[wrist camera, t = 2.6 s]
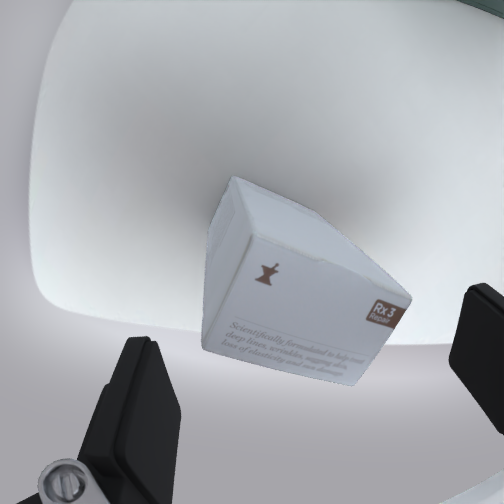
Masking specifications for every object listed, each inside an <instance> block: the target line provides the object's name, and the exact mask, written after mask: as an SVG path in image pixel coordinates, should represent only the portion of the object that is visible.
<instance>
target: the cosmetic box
mask: <svg viewBox="0 0 504 504" xmlns="http://www.w3.org/2000/svg"><path fill="white" fill-rule="evenodd" d="M411 301H412V297H411V295H410V294H409V293H408V292H407V291H406V290H405V289H404V288H403V287H402V286H401V285H400V284H399V283H398V282H397V281H396V280H394V279H393V278H392V277H391V276H390V275H389V274H388V273H387V272H386V271H385V270H383V269H382V268H381V267H380V266H379V265H378V264H377V263H376V262H374V261H373V260H372V259H371V258H370V257H369V256H368V255H366V254H365V253H364V252H363V251H362V250H361V249H359V248H358V247H357V246H356V245H355V244H353V243H352V242H351V241H350V240H349V239H348V238H346V237H345V236H344V235H343V234H342V233H340V232H339V231H338V230H337V229H336V228H334V227H333V226H332V225H331V224H330V223H328V222H327V221H326V220H325V219H324V218H322V217H321V216H320V215H319V214H317V213H316V212H315V211H313V210H311V209H309V208H307V207H305V206H303V205H300V204H298V203H296V202H294V201H292V200H290V199H287V198H285V197H283V196H281V195H278V194H276V193H274V192H272V191H269V190H267V189H265V188H263V187H260V186H258V185H256V184H253V183H251V182H249V181H246V180H244V179H242V178H239V177H237V176H232V177H231V178H230V181H229V183H228V185H227V188H226V190H225V192H224V194H223V196H222V199H221V201H220V203H219V206H218V208H217V210H216V213H215V215H214V217H213V220H212V222H211V225H210V227H209V230H208V241H207V253H206V266H205V281H204V297H203V320H202V335H201V336H202V337H201V343H202V348H203V350H206V351H208V352H212V353H216V354H219V355H222V356H226V357H230V358H233V359H237V360H241V361H244V362H248V363H252V364H256V365H260V366H264V367H267V368H271V369H275V370H279V371H284V372H288V373H293V374H297V375H302V376H305V377H310V378H314V379H319V380H324V381H329V382H333V383H338V384H343V385H348V386H354V385H355V384H356V382H357V381H358V380H359V378H360V377H361V376H362V375H363V373H364V372H365V371H366V370H367V368H368V367H369V365H370V364H371V362H372V361H373V360H374V359H375V357H376V356H377V354H378V353H379V351H380V350H381V348H382V347H383V345H384V344H385V342H386V341H387V339H388V338H389V337H390V335H391V333H392V332H393V330H394V329H395V327H396V325H397V324H398V322H399V321H400V319H401V317H402V316H403V314H404V313H405V311H406V310H407V308H408V307H409V305H410V304H411Z"/></svg>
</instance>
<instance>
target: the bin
mask: <svg viewBox="0 0 504 504" xmlns="http://www.w3.org/2000/svg"><path fill="white" fill-rule="evenodd" d="M457 1H460V2H463V3H466V4H469V5H471V6H474V7H477V8H479V9H482V10H484V11H487V12H489V13H492V14H494V15H496V16H499V17H501V18H503V19H504V0H457Z"/></svg>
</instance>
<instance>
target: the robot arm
mask: <svg viewBox="0 0 504 504" xmlns="http://www.w3.org/2000/svg"><path fill="white" fill-rule="evenodd" d="M449 365H450V367H451V369H452V370H453V371H454V372H455V374H456V375H457V376H458V378H460V380H461V381H462V383H463V384H464V385H465V387H466V388H467V389H468V391H469V392H470V393H471V394H472V396H473V397H474V399H475V400H476V401H477V403H478V404H479V405H480V407H481V408H482V409H483V411H484V412H485V414H486V415H487V416H488V418H489V419H490V421H491V422H492V423H493V425H494V426H495V428H496V429H497V431H498V432H499V433H501V434H503V435H504V296H502V295H501V294H500V293H498V292H497V291H496V290H495V289H493V288H492V287H491V286H489V285H488V284H486V283H480V284H476V285H472V286H470V287H469V288H468V290H467V292H466V293H465V295H464V299H463V304H462V308H461V313H460V317H459V321H458V325H457V329H456V333H455V337H454V341H453V344H452V348H451V352H450V355H449ZM180 421H181V410H180V406H179V403H178V400H177V398H176V395H175V393H174V390H173V387H172V384H171V382H170V379H169V376H168V373H167V370H166V367H165V364H164V361H163V358H162V355H161V352H160V349H159V346H158V343H157V342H156V341H151V339H150V338H149V337H147V336H144V337H129V338H128V339H127V341H126V343H125V346H124V348H123V350H122V353H121V355H120V358H119V360H118V363H117V365H116V367H115V370H114V372H113V375H112V378H111V380H110V383H109V384H106V385H105V386H104V388H103V390H102V392H101V395H100V398H99V400H98V403H97V405H96V408H95V411H94V413H93V416H92V419H91V421H90V424H89V427H88V429H87V432H86V435H85V438H84V441H83V443H82V446H81V449H80V452H79V455H78V458H77V460H74V459H60V460H57V461H54V462H53V463H51V464H50V465H48V466H47V467H46V468H45V469H44V470H43V471H42V473H41V475H40V477H39V480H38V491H39V492H38V493H36V494H35V495H32V496H30V497H29V498H27V499H25V500H23V501H21V502H19V503H17V504H172V496H173V485H174V475H175V465H176V456H177V447H178V439H179V430H180ZM439 504H504V469H503V470H502V471H500V472H498V473H497V474H495V475H493V476H492V477H490V478H488V479H487V480H485V481H483V482H481V483H479V484H478V485H476V486H474V487H472V488H470V489H468V490H466V491H464V492H462V493H460V494H458V495H456V496H454V497H452V498H450V499H448V500H446V501H443V502H441V503H439Z"/></svg>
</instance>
